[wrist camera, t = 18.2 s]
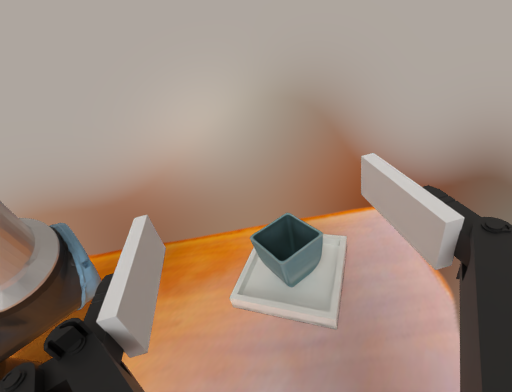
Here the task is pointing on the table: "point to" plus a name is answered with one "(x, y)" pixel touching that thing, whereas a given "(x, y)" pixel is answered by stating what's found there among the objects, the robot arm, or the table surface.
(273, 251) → the flower pot
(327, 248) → the tray
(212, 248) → the table surface
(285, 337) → the table surface
